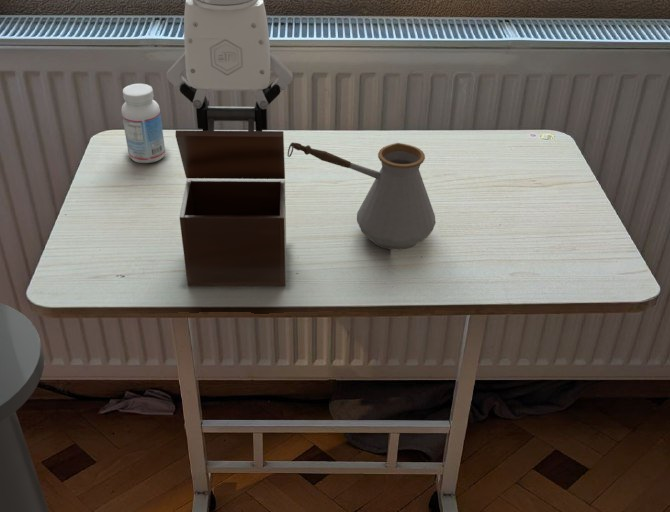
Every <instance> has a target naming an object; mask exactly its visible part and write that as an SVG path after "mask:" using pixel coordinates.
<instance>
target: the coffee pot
mask: <svg viewBox="0 0 670 512" xmlns="http://www.w3.org/2000/svg"><path fill="white" fill-rule="evenodd" d="M294 149H295V150H296V151H301V152H303V153H304V154H305V156H308V155H311V156H313V157H315V158H316V159H319V160H320V161H322V162H326V163H329V164H333V165H336V166H340V167H343V168H346V169H349V170H350V169H351V170H353V171H356V172H358V173H361V174H363V175H366V176H368V177H371V178H374V181H373V183H372V184H371V187H370V188H369V190H368V192H367V194H366V195H365V198H364V199H363V201H362V203H361V205H360V207H359V209H358V210H357V213H356V222H357V225H358V227H359V229H360V232H361V233H363V234H364V236H365V237H366V238H368V239H369V240H370V241H371V242H372V243H373V244H375V245H377V246H378V247H381V248H384V249H388V250H399V251H400V250H406V249H410V248H413V247H414V246H416V245H418V244H420V243H421V242H423V241H424V240H426V239H427V238H428V237H429V236H430V235H431V233H432V232H433V231H434V228H435V226H436V222H437V221H436V214H435V211H434V209H433V206H432V203H431V201H430V198H429V194H428V191H427V189H426V185H425V182H424V180H423V177H422V174H421V172H420V167H421V165H422V164H423V163H424V161H425V159H426V155H425V153H424V152H423V150H422V149H420V148H418V147H416V146H414V145H411V144H407V143H401V142H395V143H390V144H388V145H385V146H383V147H382V148H380V149H379V151H378V153H377V158H378V160H379V161H380V163H381V168H380V170H379V171H378V170H375V169H371V168H368V167H365V166H362V165H359V164H356V163H353V162H351V161H350V160H346V159H345V158H343V157H340V156H339V155H338V156H337V155H335V154H333V153H330V152H328V151H326V150H321V149H317V148H316V149H315V148H312V147H311V146H310V145H302V144H301V143H300V142H290V144H289V146H288V149H287V157H288V158H291V157H292V155H293V152H294Z"/></svg>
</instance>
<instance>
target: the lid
mask: <svg viewBox="0 0 670 512" xmlns="http://www.w3.org/2000/svg"><path fill="white" fill-rule="evenodd" d="M207 120H208V131H203V130H191V129H189V130H188V129H187V130H185V129H182V130H181V129H180V130H178V129H177V130H175V139H176V143H177V148H178V151H179V155H180V159H181V163H182V166H183V171H184V174H185V179H186V180H187V179H219V180H285V179H286V169H285V168H286V164H285V162H286V161H285V137H284V136H285V135H284V131H283V130H262V131H256V130H255V106H222V105H221V106H220V105H219V106H217V105H216V106H215V105H211V106H210V105H209V106H208V107H207ZM215 122H223V123H225V122H230V123H231V122H232V123H233V122H235V123H236V122H237V123H238V122H239V123H243V122H244V123H247V130H215Z"/></svg>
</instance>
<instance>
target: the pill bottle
mask: <svg viewBox="0 0 670 512" xmlns="http://www.w3.org/2000/svg"><path fill="white" fill-rule="evenodd" d="M122 97H123V100H124V103H123V104H122V105H121V109H120V110H121V111H120V112H121V118H122V124H123V129H124V135H125V142H126V148H127V152H128V156H129V158H130V159H132V161H134V162H136V163H140V164H151V163H156V162H158V161H160V160H162V159H163V158H164V157H165V156H166V146H165V138H164V132H163V131H164V130H163V124H162V116H161V108H160V105H159V103H158V102H157V101H156V100H154V90H153V87H152V86H151V85H149V84H146V83H132V84H129V85H126V86H125V87H124V88H122Z"/></svg>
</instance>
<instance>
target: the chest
mask: <svg viewBox="0 0 670 512" xmlns="http://www.w3.org/2000/svg"><path fill="white" fill-rule="evenodd" d="M182 197H183V198H182V203H181V208H180V213H179V224H180V225H179V226H180V234H181V243H182V250H183V258H184V267H185V275H186V284H187V286H188V287H286V284H287V282H286V281H287V279H286V278H287V211H286V209H287V208H286V207H287V206H286V180H285V179H187V178H186V181H185V187H184V192H183V196H182Z"/></svg>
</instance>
